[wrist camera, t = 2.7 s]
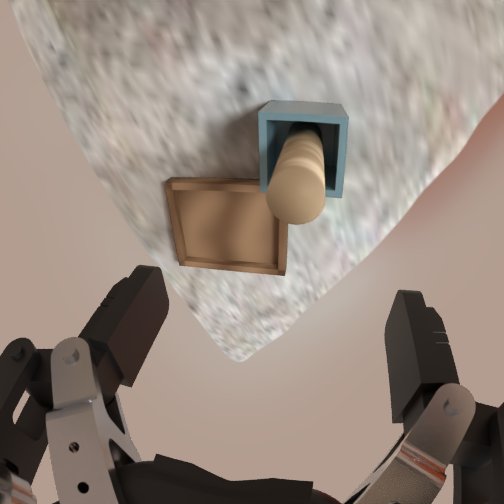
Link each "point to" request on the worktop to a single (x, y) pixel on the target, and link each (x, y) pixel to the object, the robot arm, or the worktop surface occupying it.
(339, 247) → the worktop surface
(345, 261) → the worktop surface
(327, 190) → the blue open box
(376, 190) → the worktop surface
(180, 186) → the tray
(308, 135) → the dowel
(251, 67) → the worktop surface
